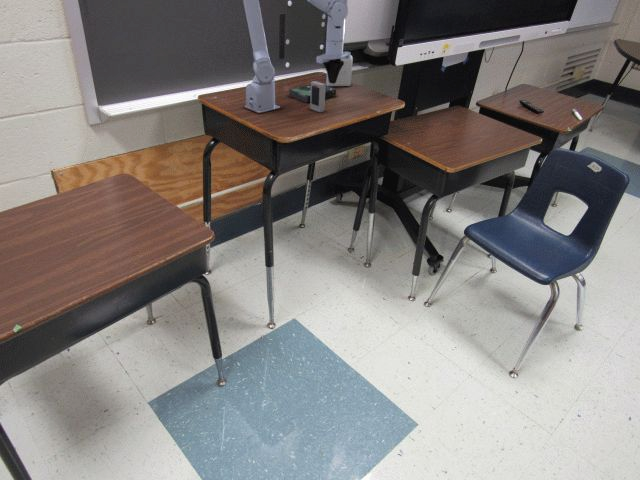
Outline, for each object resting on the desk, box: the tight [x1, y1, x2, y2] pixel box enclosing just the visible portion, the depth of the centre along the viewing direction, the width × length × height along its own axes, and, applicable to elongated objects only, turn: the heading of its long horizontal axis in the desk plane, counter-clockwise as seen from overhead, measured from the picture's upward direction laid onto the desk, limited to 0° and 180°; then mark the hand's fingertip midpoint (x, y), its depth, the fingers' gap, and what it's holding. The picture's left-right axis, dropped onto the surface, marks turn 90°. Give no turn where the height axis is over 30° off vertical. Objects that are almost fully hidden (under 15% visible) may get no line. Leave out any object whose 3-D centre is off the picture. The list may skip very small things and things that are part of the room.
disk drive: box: [288, 84, 337, 103], centre depth 167 cm, size 10×3×15 cm
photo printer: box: [325, 55, 354, 87], centre depth 179 cm, size 10×4×12 cm, turn 109°
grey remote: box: [309, 80, 327, 113], centre depth 152 cm, size 2×5×9 cm, turn 45°
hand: (332, 82), depth 155 cm, fingers closed
